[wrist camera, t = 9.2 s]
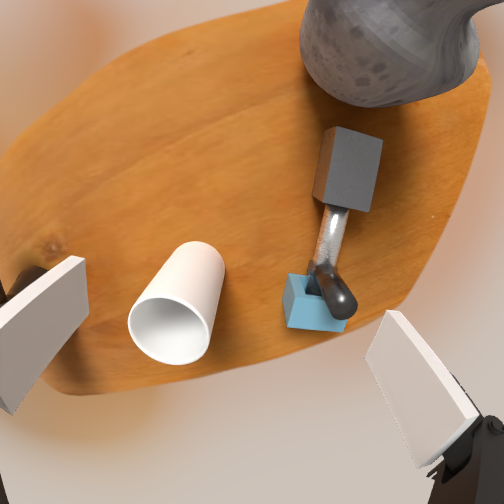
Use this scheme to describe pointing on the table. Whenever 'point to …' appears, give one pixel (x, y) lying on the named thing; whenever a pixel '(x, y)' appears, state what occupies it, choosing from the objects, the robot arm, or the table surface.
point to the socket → (307, 307)
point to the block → (347, 168)
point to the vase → (390, 48)
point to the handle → (331, 265)
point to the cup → (179, 305)
